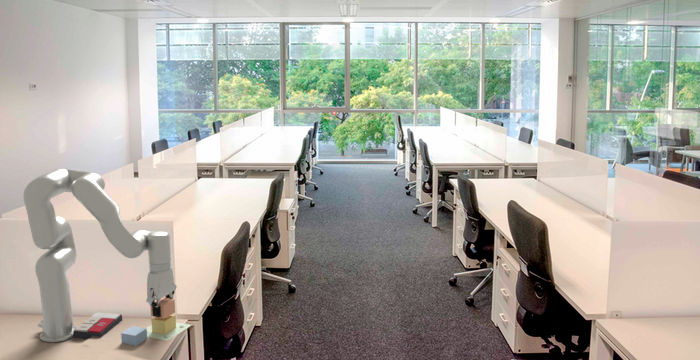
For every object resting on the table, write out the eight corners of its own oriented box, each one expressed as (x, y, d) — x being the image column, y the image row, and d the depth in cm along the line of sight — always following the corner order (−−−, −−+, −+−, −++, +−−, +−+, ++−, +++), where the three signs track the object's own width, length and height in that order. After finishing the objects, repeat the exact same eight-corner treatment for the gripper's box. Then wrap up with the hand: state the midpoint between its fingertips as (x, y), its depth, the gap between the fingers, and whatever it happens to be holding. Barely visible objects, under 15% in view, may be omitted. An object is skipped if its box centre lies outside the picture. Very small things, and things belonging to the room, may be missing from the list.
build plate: (135, 337, 217) (135, 333, 217) (161, 321, 230) (161, 318, 229) (167, 344, 212) (167, 340, 211) (191, 328, 224) (191, 324, 224)
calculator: (72, 329, 215) (95, 310, 230) (73, 340, 216) (96, 320, 231) (100, 331, 214) (122, 312, 228) (101, 342, 215) (123, 322, 229)
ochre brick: (152, 331, 219) (151, 318, 218) (162, 324, 224) (162, 312, 223) (165, 334, 217) (164, 321, 216) (176, 327, 222) (175, 315, 221)
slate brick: (122, 346, 210) (121, 333, 209) (133, 339, 216) (132, 326, 215) (136, 349, 208) (135, 335, 207) (147, 341, 214) (146, 328, 213)
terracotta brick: (151, 316, 218) (150, 303, 217) (161, 309, 223) (161, 297, 222) (164, 318, 215) (163, 305, 214) (175, 312, 221) (174, 299, 220)
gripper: (167, 257, 225) (169, 302, 228) (135, 272, 209) (138, 320, 213) (183, 260, 222) (186, 305, 226) (152, 275, 206) (155, 324, 210)
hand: (162, 312), depth 219 cm, fingers closed on terracotta brick, 6 cm apart
